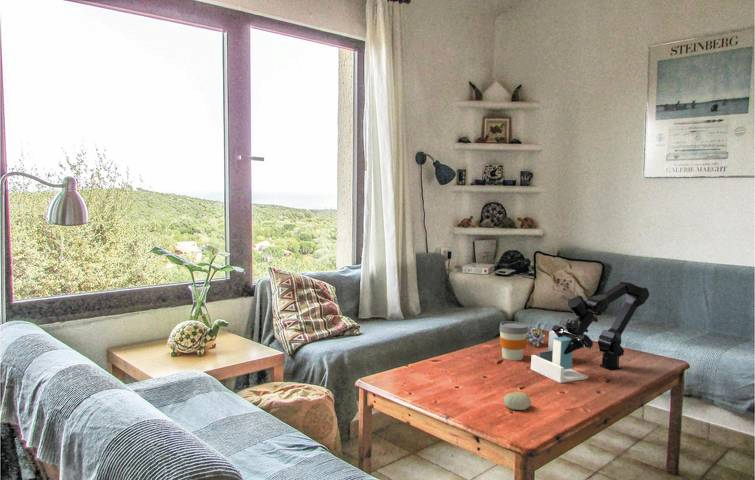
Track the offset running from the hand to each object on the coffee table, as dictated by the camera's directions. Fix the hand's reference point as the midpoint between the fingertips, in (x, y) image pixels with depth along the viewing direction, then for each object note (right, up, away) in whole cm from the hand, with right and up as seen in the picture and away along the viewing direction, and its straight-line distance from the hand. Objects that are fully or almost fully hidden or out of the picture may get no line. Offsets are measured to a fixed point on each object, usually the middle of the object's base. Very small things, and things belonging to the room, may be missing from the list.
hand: (559, 352), depth 232 cm
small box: (+7, -8, +22) cm, 24 cm away
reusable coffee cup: (-13, -7, +25) cm, 29 cm away
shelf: (+1, -10, +3) cm, 10 cm away
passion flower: (+1, -6, +47) cm, 47 cm away
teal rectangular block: (+1, -7, +1) cm, 7 cm away
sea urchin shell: (-25, -13, -32) cm, 43 cm away
